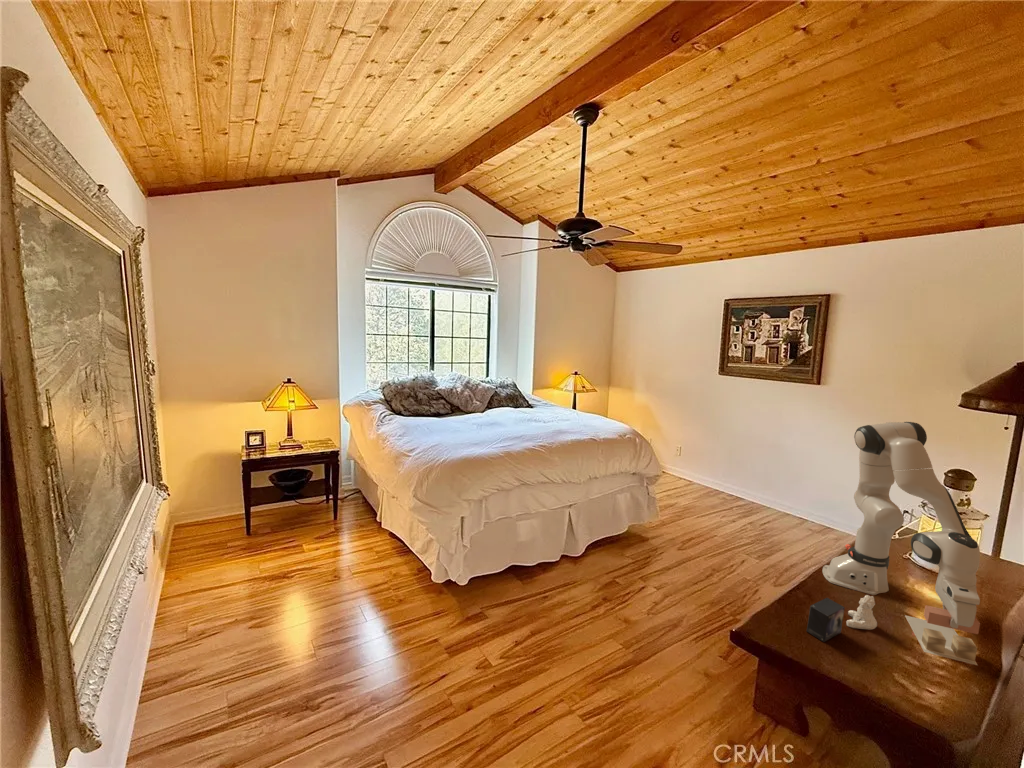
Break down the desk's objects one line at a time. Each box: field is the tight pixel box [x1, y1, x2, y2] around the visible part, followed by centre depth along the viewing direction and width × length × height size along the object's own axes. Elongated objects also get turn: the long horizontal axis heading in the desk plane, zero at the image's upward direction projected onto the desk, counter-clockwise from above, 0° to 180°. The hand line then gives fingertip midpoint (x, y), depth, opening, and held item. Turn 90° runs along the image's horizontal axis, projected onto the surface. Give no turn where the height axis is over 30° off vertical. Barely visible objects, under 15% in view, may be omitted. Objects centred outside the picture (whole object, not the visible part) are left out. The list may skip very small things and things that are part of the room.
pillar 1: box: [922, 628, 946, 654], centre depth 155 cm, size 4×4×5 cm
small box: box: [806, 597, 845, 643], centre depth 162 cm, size 11×6×10 cm, turn 117°
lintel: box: [923, 605, 981, 635], centre depth 152 cm, size 4×12×4 cm, turn 63°
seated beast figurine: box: [845, 594, 878, 631], centre depth 166 cm, size 10×9×12 cm
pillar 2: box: [951, 635, 978, 661], centre depth 152 cm, size 4×4×5 cm
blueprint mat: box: [904, 614, 979, 666], centre depth 160 cm, size 14×20×1 cm, turn 154°
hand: (950, 621), depth 152 cm, fingers closed on lintel, 4 cm apart
